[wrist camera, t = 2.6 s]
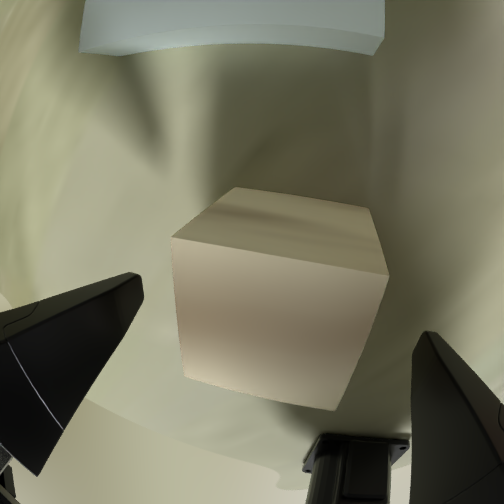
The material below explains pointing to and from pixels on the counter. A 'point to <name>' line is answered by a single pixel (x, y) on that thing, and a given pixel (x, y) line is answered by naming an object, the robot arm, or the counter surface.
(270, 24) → the blue-grey slab
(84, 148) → the counter surface
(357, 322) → the birch cube
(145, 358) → the counter surface
